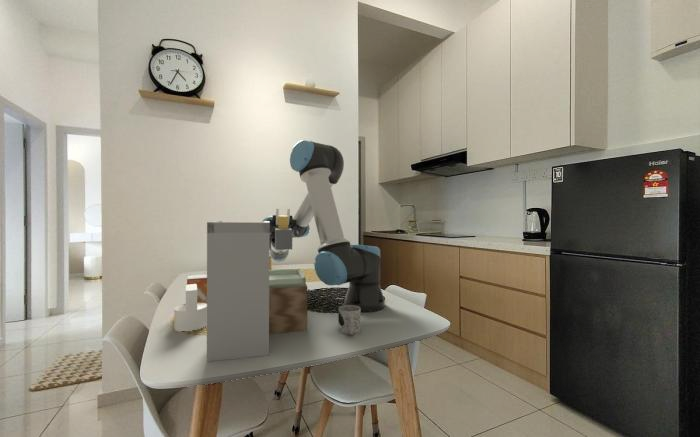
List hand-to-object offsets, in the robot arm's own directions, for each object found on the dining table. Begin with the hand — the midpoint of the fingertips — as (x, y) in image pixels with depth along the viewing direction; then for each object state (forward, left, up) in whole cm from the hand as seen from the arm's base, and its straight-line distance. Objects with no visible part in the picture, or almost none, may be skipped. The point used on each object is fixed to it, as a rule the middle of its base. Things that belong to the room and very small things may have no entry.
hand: (283, 212), depth 103 cm
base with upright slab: (+27, +3, -35) cm, 45 cm away
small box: (+27, -9, -35) cm, 46 cm away
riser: (0, +6, -35) cm, 36 cm away
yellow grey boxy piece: (0, +1, -11) cm, 11 cm away
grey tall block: (+11, +22, -35) cm, 43 cm away
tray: (0, +6, -22) cm, 23 cm away
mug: (-19, +19, -35) cm, 44 cm away
